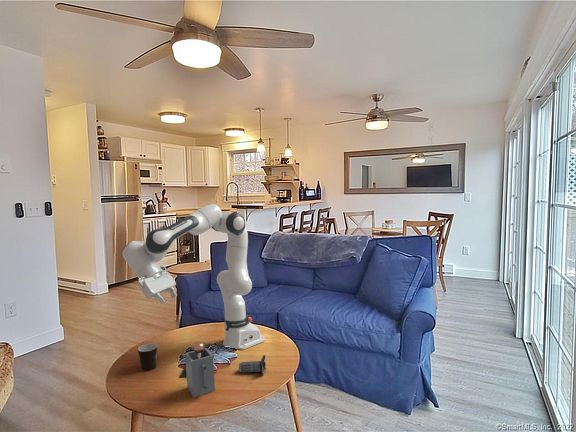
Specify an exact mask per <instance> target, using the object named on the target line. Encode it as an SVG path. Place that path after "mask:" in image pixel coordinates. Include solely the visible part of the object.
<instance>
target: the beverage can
mask: <svg viewBox="0 0 576 432" xmlns="http://www.w3.org/2000/svg"><path fill="white" fill-rule="evenodd" d="M265 360H266V355H265V354H263V355H262V357H261V359H260V360H257V361H255V360H253V361H252V360H251V361H241V362H240V363H239V364H238V371H239V373H242V374H243V373H255V372H256V373H257V372H258V373H259V372H261V377H263V376H264V374H265V373H266V372H265V371H266V370H267V367H266V365H267V364H266V361H265Z"/></svg>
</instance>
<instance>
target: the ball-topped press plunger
mask: <svg viewBox="0 0 576 432" xmlns="http://www.w3.org/2000/svg"><path fill="white" fill-rule="evenodd" d="M193 348H194V350H193V351H195V353H198V359H200V358H201V352H203V348H204V343H203V342H201V341H200V342H199V341H197V342H195V343H194V344H193Z"/></svg>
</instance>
